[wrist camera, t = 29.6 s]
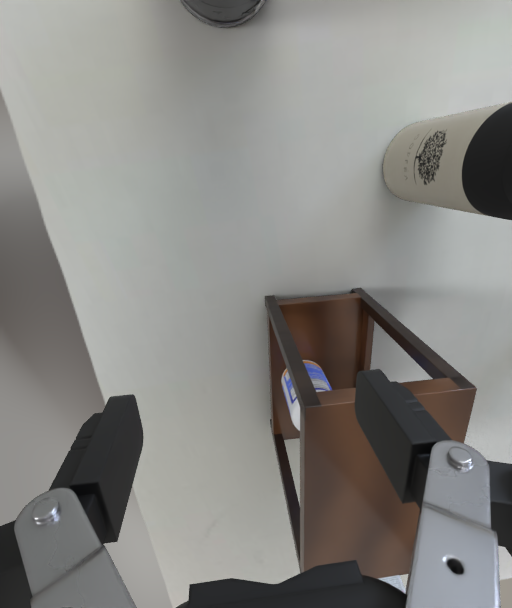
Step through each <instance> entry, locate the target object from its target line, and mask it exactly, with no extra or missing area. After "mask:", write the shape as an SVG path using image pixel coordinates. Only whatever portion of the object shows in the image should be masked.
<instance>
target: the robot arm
mask: <svg viewBox="0 0 512 608" xmlns="http://www.w3.org/2000/svg"><path fill="white" fill-rule="evenodd" d="M180 1H181V3H182V4H183V5H184V6H185V8H186V9H187V10H188V11H189V12H190V13H191V14H192V15H194V16H195V17H196V18H198V19H199V20H201V21H203V22H204V23H207V24H209V25H212V26H216V27H233V26H237V25H240V24H242V23H244V22H246V21H248V20H249V19H251V18H252V17H253V16H254V15H255V14H256V13H257V12H258V11H259V10H260V9H261V8H262V6H263V5H264V3H265V2H266V0H180ZM355 414H356V418H357V421H358V423H359V425H360V427H361V429H362V431H363V432H364V434H365V436H366V438H367V440H368V442H369V443H370V445H371V447H372V449H373V451H374V453H375V454H376V456H377V458H378V460H379V462H380V464H381V465H382V467H383V469H384V471H385V473H386V475H387V477H388V478H389V480H390V482H391V484H392V486H393V488H394V489H395V491H396V493H397V495H398V497H399V499H400V500H401V502H402V504H404V503H412V502H416V504H417V505H418V507H419V509H420V512H419V517H418V523H417V529H416V534H415V540H414V546H413V552H412V558H411V563H410V569H409V575H408V580H407V586H406V591H405V593H404V592H402V591H401V590H399V589H398V588H396V587H394V586H392V585H391V584H389V583H387V582H384V581H382V580H379V579H377V578H373V577H370V576H366V575H361V572H360V569H359V566H358V563H357V561H356V560H351V561H345V562H338V563H331V564H324V565H318V566H315V567H313V568H311V569H309V570H307V571H304V572H302V573H300V574H298V575H296V576H294V577H292V578H290V579H288V580H286V581H284V582H282V583H279V584H266V583H260V582H253V581H246V580H240V579H233V578H230V579H224V580H217V581H210V582H204V583H197V584H190V588H189V601H187V602H185V603H183V604H181V605H179V606H178V607H176V608H501V606H500V581H499V556H498V546H503V547H506V549H507V550H508V552H509V553H510V555H511V556H512V464H507V463H500V462H493V461H488V460H486V459H485V458H484V457H483V456H482V455H481V454H480V453H479V452H478V451H477V450H475V449H474V448H472V447H470V446H468V445H466V444H464V443H461V442H457V441H453V440H452V439H451V438H450V437H449V436H448V435H447V433H446V432H445V431H444V430H443V429H442V428H441V426H440V425H439V424H438V423H437V422H436V420H435V419H434V418H433V417H432V416H431V415H430V413H429V412H428V411H427V410H425V408H424V406H423V405H422V404H421V403H420V402H418V399H417V398H416V397H415V396H414V395H413V393H412V392H411V391H410V390H409V389H407V388H406V387H404V386H403V385H401V384H399V383H398V382H390V381H389V380H388V378H387V377H386V376H385V375H384V373H383V372H382V371H381V370H380V369H376V370H366V371H359V372H358V373H357V379H356V393H355ZM142 446H143V428H142V424H141V419H140V415H139V411H138V406H137V402H136V398H135V396H134V395H133V394H132V395H123V396H113V397H110V398H109V400H108V402H107V404H106V406H105V409H104V411H103V413H95V414H93V416H92V417H90V418H89V419H88V420H87V421H86V422H85V423H84V424H83V426H82V427H81V429H80V431H79V433H78V435H77V437H76V440H75V441H74V443H73V444H72V446H71V450H70V451H69V452H68V454H67V456H66V458H65V460H64V462H63V464H62V466H61V468H60V469H59V471H58V473H57V476H56V478H55V479H54V481H53V483H52V485H51V487H50V489H49V491H47V492H45V493H43V494H41V495H39V496H37V497H36V498H34V499H33V500H32V501H31V502H29V503H28V505H26V506H25V507H24V509H23V510H22V511H21V512H20V514H19V515H18V517H17V519H16V520H15V521H13V522H10V523H8V524H5V525H2V526H0V608H137V607H136V605H135V604H134V602H133V600H132V598H131V596H130V594H129V592H128V590H127V588H126V586H125V584H124V582H123V580H122V578H121V576H120V575H119V573H118V570H117V568H116V567H115V565H114V563H113V561H112V559H111V557H110V555H109V553H108V551H107V549H106V548H105V546H104V545H103V544H104V543H110V542H117V540H118V537H119V533H120V529H121V525H122V522H123V518H124V514H125V510H126V507H127V503H128V499H129V496H130V492H131V488H132V484H133V481H134V477H135V473H136V469H137V466H138V462H139V458H140V454H141V451H142Z"/></svg>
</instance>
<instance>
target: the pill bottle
mask: <svg viewBox="0 0 512 608" xmlns="http://www.w3.org/2000/svg"><path fill="white" fill-rule="evenodd" d="M303 362H304V365H305V367H306V369H307V371H308V374H309V376H310V378H311V381H312V383H313V385H314V388H315V390H316V392H321V391H330V390H332V388H331V386H330V384H329V382H328V380H327V378H326V376H325V374H324V372H323V371H322V369H321V367H320V366H319V365H318V364H316V363H315V362H312V361H309V360H303ZM281 382H282V388H283V391H284V395H285V398H286V402H287V405H288V409H289V412H290V416H291V419H292V422H293V424H294V426H295V427H296V428H297V429H298V430H299V431H300V406H299V403H298V400H297V397H296V394H295V391H294V388H293V385H292V382H291V379H290V376H289V373H288V370H287V368H286V369H285V371H284V373H283V375H282V380H281Z"/></svg>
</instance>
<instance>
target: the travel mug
mask: <svg viewBox="0 0 512 608" xmlns="http://www.w3.org/2000/svg"><path fill="white" fill-rule="evenodd" d="M383 174H384V179H385V182H386V184H387V186H388V188H389V190H390V191H391V192H392V193H393V194H394V195H395V196H397V197H398V198H400V199H403V200H407V201H412V202H417V203H422V204H428V205H433V206H438V207H444V208H449V209H454V210H460V211H465V212H470V213H476V214H481V215H486V216H492V217H497V218H502V219H508V220H512V102H508V103H503V104H499V105H494V106H489V107H485V108H480V109H476V110H471V111H466V112H462V113H457V114H452V115H448V116H443V117H439V118H434V119H429V120H425V121H420V122H416V123H413V124H411V125H409V126H407V127H405V128H404V129H402V130H401V131H400V132H399V133H398V134H397V135H396V136H395V137H394V139H393V140H392V141H391V143H390V145H389V147H388V149H387V151H386V154H385V157H384V163H383Z"/></svg>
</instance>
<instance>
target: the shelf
mask: <svg viewBox="0 0 512 608" xmlns="http://www.w3.org/2000/svg"><path fill="white" fill-rule="evenodd" d="M265 306H266V308H267V324H268V347H269V371H270V395H271V418H272V419H270V424H271V430H272V435H273V440H274V445H275V450H276V455H277V460H278V465H279V470H280V474H281V479H282V484H283V489H284V494H285V499H286V504H287V509H288V514H289V519H290V524H291V529H292V534H293V539H294V543H295V548H296V553H297V558H298V563H299V568H300V573H302V572H304V571H307V570H309V569H311V568H313V567H315V566H318V565H324V564H331V563H338V562H345V561H351V560H356V561H357V563H358V566H359V569H360V572H361V575H366V576H370V577H373V578H384V577H390V576H397V575H403V574H409V569H410V563H411V558H412V552H413V546H414V540H415V534H416V529H417V523H418V517H419V512H420V509H419V507H418V505H417V504H416V502H412V503H404V504H402V502H401V500H400V499H399V497H398V495H397V493H396V491H395V489H394V488H393V486H392V484H391V482H390V480H389V478H388V477H387V475H386V473H385V471H384V469H383V467H382V465H381V464H380V462H379V460H378V458H377V456H376V454H375V453H374V451H373V449H372V447H371V445H370V443H369V442H368V440H367V438H366V436H365V434H364V432H363V431H362V429H361V427H360V425H359V423H358V421H357V418H356V414H355V393H356V379H357V373H358V372H359V371H366V370H370V364H371V353H372V342H373V331H374V321H375V322H376V323H377V324H378V325H379V326H380V327H381V328H382V329H383V330H384V331H385V332H386V333H387V334H388V335H389V336H390V337H391V338H392V339H393V340H394V341H396V342H397V343H398V344H399V345H400V346H401V347H402V348H403V349H404V350H405V351H406V352H407V353H408V354H409V355H410V356H411V357H412V358H413V359H414V360H415V361H416V362H417V363H418V364H419V365H420V366H421V367H422V368H423V369H424V370H425V371H426V372H427V373H428V374H429V375H430V376H431V377H432V378H433V379H431V380H422V381H413V382H403V383H399V384H401V385H403V386H404V387H406V388H407V389H409V390H410V391H411V392H412V393H413V395H414V396H415V397H416V398H417V399H418V402H420V403H421V404H422V405H423V406H424V408H425V410H427V411H428V412H429V413H430V415H431V416H432V417H433V418H434V419H435V420H436V422H437V423H438V424H439V425H440V426H441V428H442V429H443V430H444V431H445V432H446V433H447V435H448V436H449V437H450V438H451V439H452V440H453V441H457V442H461V443H464V440H465V436H466V432H467V428H468V424H469V420H470V415H471V411H472V407H473V403H474V399H475V395H476V390H477V388H476V387H475V386H474V385H473V384H472V383H470V382H469V381H468V380H467V379H466V378H465V377H463V376H462V375H461V374H460V373H459V372H458V371H456V370H455V369H454V368H453V367H452V366H451V365H450V364H448V363H447V362H446V361H445V360H444V359H443V358H441V357H440V356H439V355H438V354H437V353H436V352H434V351H433V350H432V349H431V348H430V347H429V346H427V345H426V344H425V343H424V342H423V341H422V340H420V339H419V338H418V337H417V336H416V335H415V334H414V333H412V332H411V331H410V330H409V329H408V328H407V327H405V326H404V325H403V324H402V323H401V322H400V321H398V320H397V319H396V318H395V317H394V316H393V315H391V314H390V313H389V312H388V311H387V310H386V309H385V308H383V307H382V306H381V305H380V304H379V303H378V302H376V301H375V300H374V299H373V298H372V297H371V296H369V295H368V294H367V293H366V292H365V291H364V290H362V289H361V288H356V289H352V293H351V294H340V295H328V296H317V297H305V298H294V299H282V300H276V298H275V296H265ZM303 360H309V361H312V362H315V363H316V364H318V365H319V366H320V367H321V369H322V371H323V372H324V374H325V376H326V378H327V380H328V382H329V384H330V386H331V388H332V390H330V391H321V392H316V390H315V388H314V385H313V383H312V381H311V378H310V376H309V374H308V371H307V369H306V367H305V365H304V362H303ZM286 368H287V370H288V373H289V376H290V379H291V382H292V385H293V388H294V391H295V394H296V397H297V400H298V403H299V406H300V431H299V430H298V429H297V428H296V427H295V426H294V424H293V422H292V419H291V416H290V412H289V409H288V405H287V402H286V398H285V395H284V391H283V388H282V382H281V380H282V375H283V373H284V371H285V369H286ZM296 438H300V506H299V502H298V497H297V493H296V489H295V485H294V481H293V477H292V472H291V468H290V464H289V460H288V456H287V452H286V447H285V443H284V440H287V439H296Z"/></svg>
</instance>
